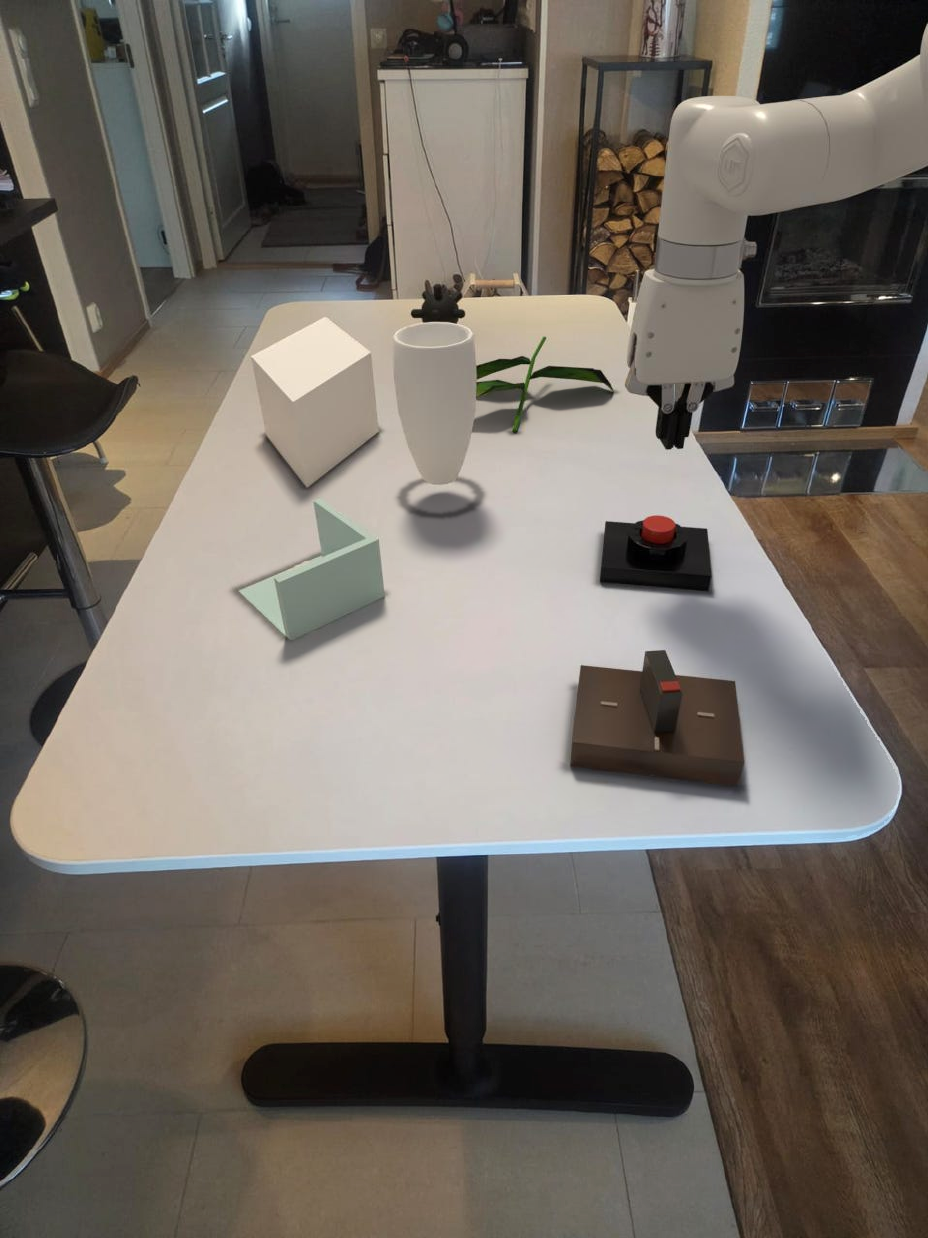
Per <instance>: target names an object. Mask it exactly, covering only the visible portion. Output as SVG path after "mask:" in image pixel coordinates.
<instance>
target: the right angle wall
mask: <svg viewBox="0 0 928 1238" xmlns="http://www.w3.org/2000/svg"><path fill="white" fill-rule="evenodd" d="M312 501H313V508H314V516H315V520H316V526H317V532H318V540H319V546H320V551H321V555H319V556H317V557H314V558H312V559H310V560H304V561H303V562H301V563H299V564H295V565H294V566H293V567H291V568H288V569H286V570H284V571H281V572H279V573H277V574H274V575H273V576H269V577H267V578H265V579H263V580H261V581H258V582H256V583H253V584H251V585H249V586H246V587H244V588H242V589H239V590H238V592H239V593H240V594H241V596H243V597H244V598H245V599H246V600H247V601H248V602H249V603H250V604H251V605H252V606H253V607H254V608H256V610H258V611H259V613H261V614H262V615H263V616H264V617H265V618H266V619H267V620H268V621H269V622H270V623H271V624H272V625H273V626H274V627H275V628H276V629H277V630H279V631H280V632H281V634H283V636H285V637H286V638H287V639H288V640H289V641H290V642H292V641H294V640H296V639H299V638H300V637H303V636H304V635H307V634H309V633H311V632H313V631H315V630H317V629H320V628H321V627H323V626H326V625H329V624H330V623H332V622H335V621H336V620H339V619H341V618H343V617H344V616H347V615H349V614H351V613H353V612H355V611H358V610H359V609H361V608H364V607H365V606H368V605H369V604H372V603H374V602H376V601H378V600H380V599H383V598H385V597H386V595H385V586H384V585H385V584H384V576H383V566H382V557H381V556H382V555H381V546H380V539H379V538H378V537H377V536H375V535H374V534H372V533H370V532H369V531H368V530H366V529H365V528H363V527H362V526H360V525H359V524H358V523H356V522H355V521H353V520H352V519H351V518H349V517H347V516H346V515H344V514H343V513H342V512H340V511H339V510H338V509H336V508H334V506H332V505H331V504H329V503H328V502H326V501H325V500H324V499H322V498H320V497H319V498H316V499H314V500H312Z"/></svg>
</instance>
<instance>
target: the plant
mask: <svg viewBox="0 0 928 1238" xmlns="http://www.w3.org/2000/svg"><path fill="white" fill-rule="evenodd" d="M546 340H547V336H542V338H541V339H540V342H539V344H538V345H537V347H536V349H535V351H534V352H533V355H532V357H531V359H530V358H529V357H527V356H524V355H520V356H516V357H515V358H497V359H494V360H491V361H487V362H484V363H480V364H478V365H477V364H476V373H477V380H480V379H482V378H486V377H488V376H490V375H492V374H495V373H498V372H502V371H505V370H508V369H512V368H514V367H518V366H521V365H529V366H528V371H527V374H526V378H525V381H524V382H517V383H516V382H515V383H512V382H509V381H505V380H502V379H493V380H484V381H483V380H481V381H477V380H476V398H478V397H483V396H484V395H488V394H493V393H495V392H504V391H509V390H522V393H521V396H520V400H519V404H518V408H517V410H516V411H517V412H516V415H515V419H514V423H513V426H512V431H511V432H513V433H517V431H518V427H519V423H520V419H521V416H522V412H523V408H524V404H525V401H526V397H527V392H528V389H529V384H530V381H531V380H534V379H538V378H548V379H560V380H561V379H562V380H563V379H564V380H573V381H575V380H576V381H582V382H590V383H599V384H604V385H606V386H607V388H609V389H610V390H611V391H613V393H615V391H614V389H613V386H612V383H610V381H609V379H608V378H607V377H606V375H605V374H604V372H603V371H602V370H601V369H595V368H593V367H578V366H561V365H560V366H558V365H547V366H544V367H542V368H540V369H538V370H535V371H533V369H534V365H535V361H536V359H537V356H538V354H539V352H540V351H541V349H542V347H543V345H544V344H545V342H546Z"/></svg>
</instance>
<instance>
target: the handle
mask: <svg viewBox="0 0 928 1238" xmlns="http://www.w3.org/2000/svg"><path fill="white" fill-rule="evenodd" d="M641 671H642V676H641V683H640V691H641V694H642V697H643V700H644V703H645V706H646V709H647V712H648V715H649V718H650V721H651V723H652V726H653V729H654V732H655V733H657V732H673V731H675V730H676V725H677V719H678V714H679V709H680V704H681V699H682V690H681V688H680V685H679V683H678V680H677V678H676V675H677V674H676V672H675V670H674V668H673V665H672V662H671V660H670V657H669V655H668V654H667V651H666V649H659V650H658V649H656V650H644V657H643V664H642V670H641Z"/></svg>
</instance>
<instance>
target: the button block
mask: <svg viewBox="0 0 928 1238" xmlns="http://www.w3.org/2000/svg"><path fill="white" fill-rule="evenodd" d="M643 521H644V519H643V520H637V521H636V522H623V521H622V522H621V521H609V520H606V521H605V523H604V531H603V532H604V533H603V543H602V553H601V564H600V573H599V583H601V584H602V583H603V584H604V583H605V584H614V585H615V584H616V585H627V586H636V587H637V586H639V587H649V588H662V589H672V590H673V589H675V590H684V591H696V592H706V593H707V592H708V593H709V591H710V587H711V582H712V577H713V573H712V564H711V563H712V562H711V552H710V551H711V550H710V542H709V532H708V528H703V527H691V526H681V525H680V524H678V523H676V522H675V525H676V526H675V532H674V538H673V540H672V541H671V542H668V543H664V544H661V543H652V542H649V541H647V540H644V539H643V538H642V535H641V534H642V527H643Z"/></svg>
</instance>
